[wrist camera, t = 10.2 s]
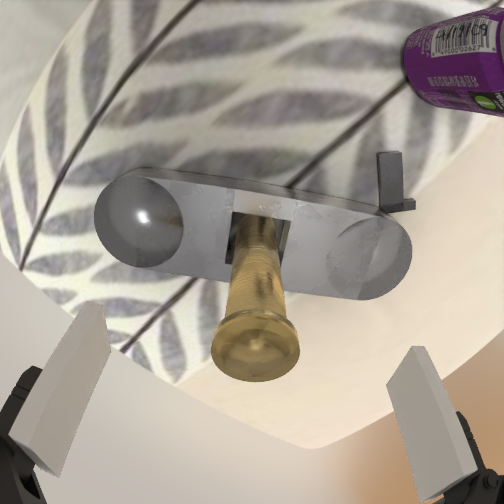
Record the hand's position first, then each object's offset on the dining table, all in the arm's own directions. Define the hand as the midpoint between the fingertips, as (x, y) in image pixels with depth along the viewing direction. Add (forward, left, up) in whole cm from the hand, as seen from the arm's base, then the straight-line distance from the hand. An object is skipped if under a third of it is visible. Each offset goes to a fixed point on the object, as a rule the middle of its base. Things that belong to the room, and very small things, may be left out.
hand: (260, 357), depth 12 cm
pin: (+1, 0, -15) cm, 15 cm away
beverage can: (-17, +12, -15) cm, 25 cm away
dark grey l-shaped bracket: (-6, +10, -15) cm, 19 cm away
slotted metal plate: (0, 0, -15) cm, 15 cm away
